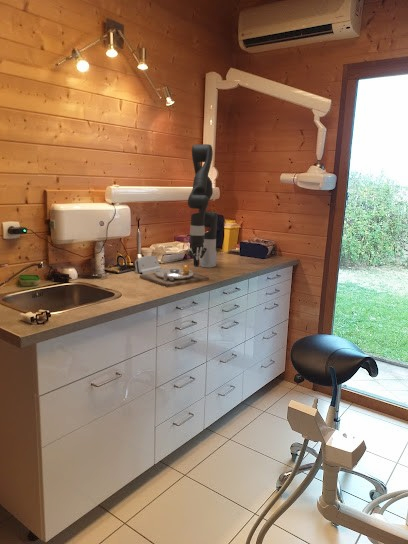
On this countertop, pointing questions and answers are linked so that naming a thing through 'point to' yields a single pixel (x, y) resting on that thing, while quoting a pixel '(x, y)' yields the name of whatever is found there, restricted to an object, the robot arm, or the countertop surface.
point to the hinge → (147, 264)
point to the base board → (175, 282)
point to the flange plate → (175, 273)
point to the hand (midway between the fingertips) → (196, 266)
